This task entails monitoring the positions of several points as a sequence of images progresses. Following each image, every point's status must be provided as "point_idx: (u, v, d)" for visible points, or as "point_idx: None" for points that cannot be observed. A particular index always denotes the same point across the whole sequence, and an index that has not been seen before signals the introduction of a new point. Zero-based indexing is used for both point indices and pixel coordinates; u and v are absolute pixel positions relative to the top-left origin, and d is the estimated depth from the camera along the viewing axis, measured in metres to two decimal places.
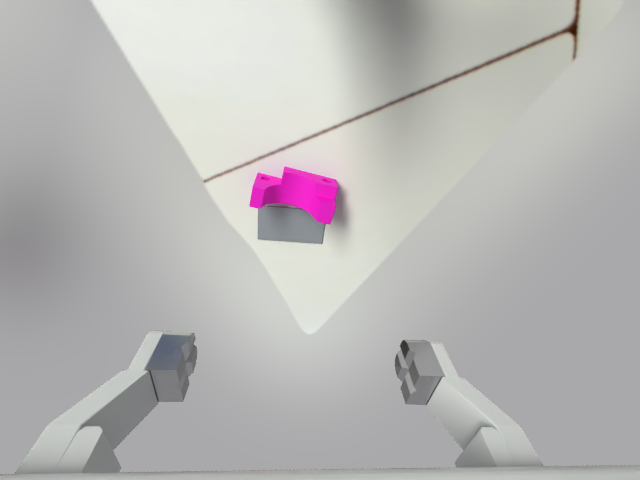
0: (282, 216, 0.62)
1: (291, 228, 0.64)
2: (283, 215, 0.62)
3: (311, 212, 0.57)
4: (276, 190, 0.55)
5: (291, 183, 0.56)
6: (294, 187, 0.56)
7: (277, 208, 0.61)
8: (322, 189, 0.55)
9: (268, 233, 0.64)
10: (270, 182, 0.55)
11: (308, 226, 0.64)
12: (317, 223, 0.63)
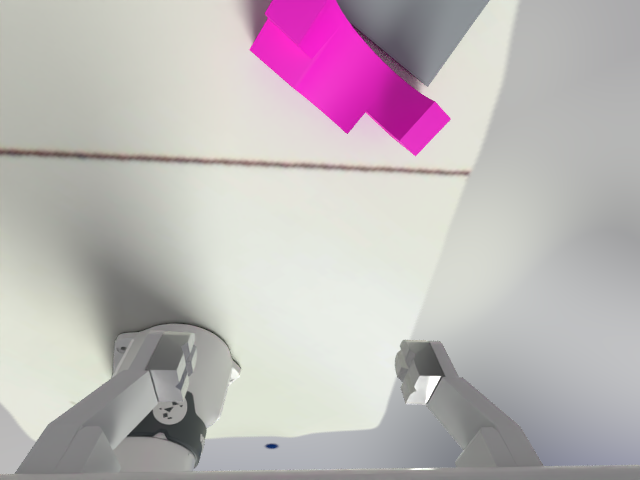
0: (400, 31, 0.26)
1: None
2: (399, 30, 0.26)
3: (335, 12, 0.21)
4: (379, 105, 0.26)
5: (344, 101, 0.27)
6: (344, 89, 0.26)
7: (399, 58, 0.27)
8: (287, 64, 0.23)
9: None
10: None
11: None
12: None
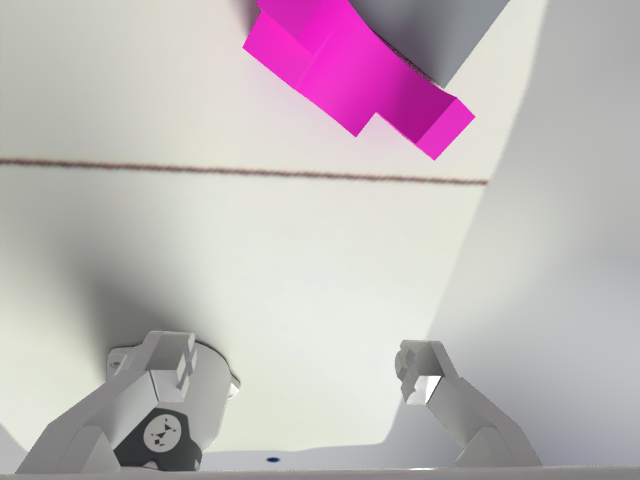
0: (415, 27, 0.23)
1: None
2: (413, 26, 0.23)
3: None
4: (391, 104, 0.23)
5: (352, 101, 0.24)
6: (350, 87, 0.23)
7: (412, 57, 0.24)
8: (285, 62, 0.21)
9: None
10: (393, 126, 0.24)
11: None
12: None
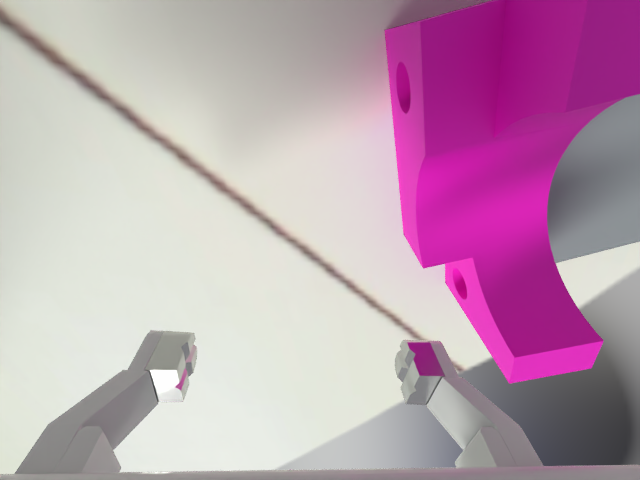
0: (557, 197, 0.17)
1: (619, 146, 0.15)
2: (557, 195, 0.17)
3: (608, 103, 0.10)
4: (497, 265, 0.15)
5: (456, 222, 0.14)
6: (470, 206, 0.14)
7: None
8: (453, 111, 0.10)
9: (629, 216, 0.18)
10: (471, 286, 0.16)
11: None
12: None
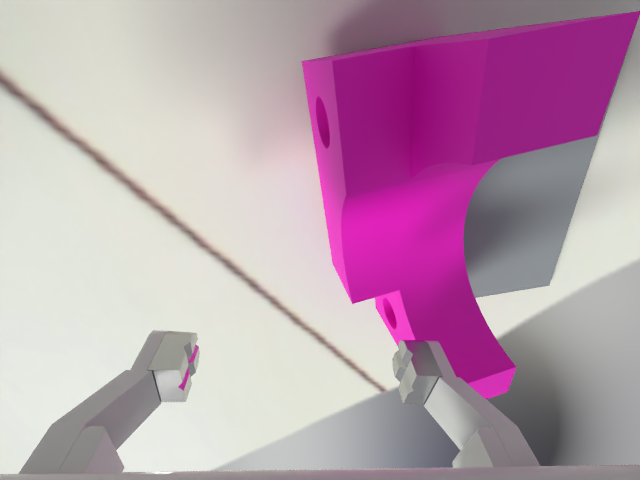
0: (468, 240, 0.18)
1: (521, 201, 0.17)
2: (467, 238, 0.18)
3: None
4: (422, 297, 0.15)
5: (382, 256, 0.14)
6: (395, 240, 0.14)
7: None
8: (371, 151, 0.10)
9: (532, 263, 0.19)
10: (399, 317, 0.16)
11: None
12: None
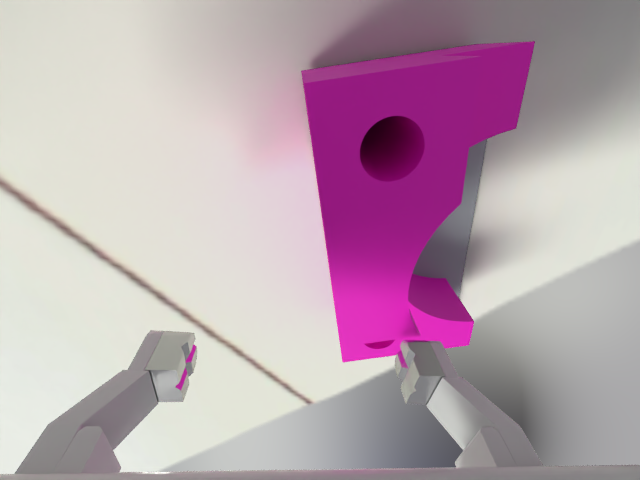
0: None
1: None
2: None
3: None
4: None
5: None
6: None
7: None
8: None
9: None
10: None
11: None
12: None
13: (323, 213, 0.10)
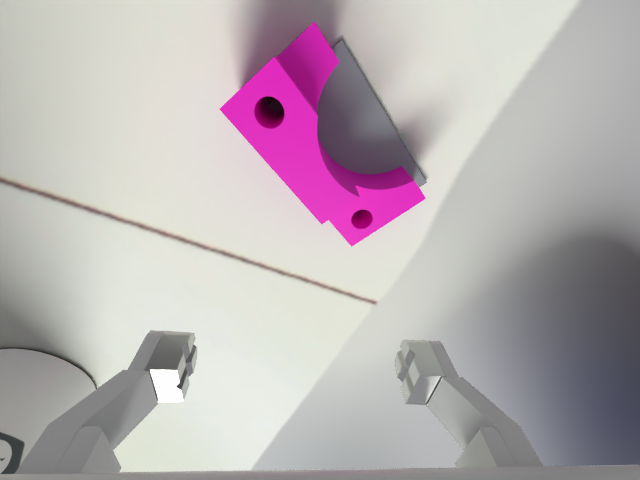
0: None
1: (356, 142, 0.26)
2: None
3: None
4: (360, 182, 0.25)
5: (335, 174, 0.23)
6: (329, 164, 0.23)
7: None
8: (304, 96, 0.19)
9: None
10: (368, 202, 0.25)
11: (324, 113, 0.24)
12: None
13: (262, 156, 0.20)
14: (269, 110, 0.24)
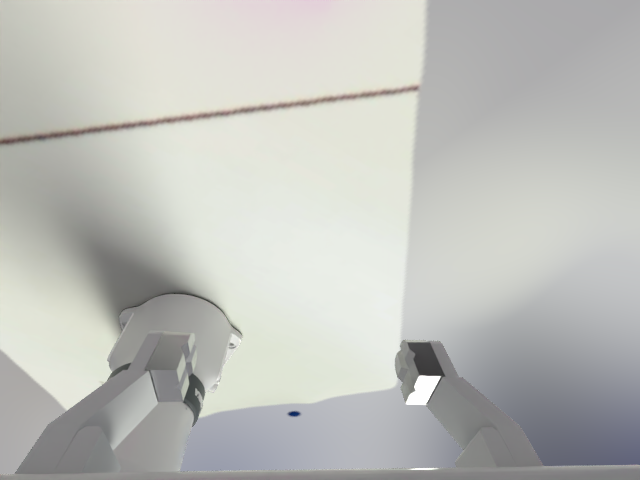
0: None
1: None
2: None
3: None
4: None
5: None
6: None
7: None
8: None
9: None
10: None
11: None
12: None
13: None
14: None
